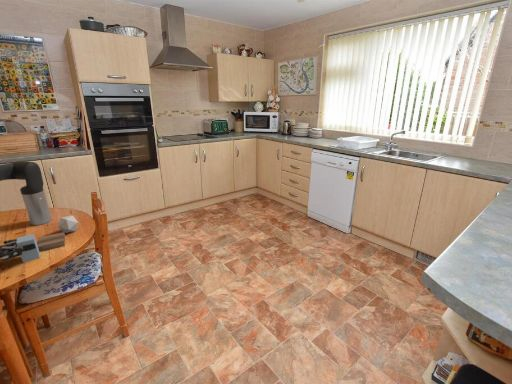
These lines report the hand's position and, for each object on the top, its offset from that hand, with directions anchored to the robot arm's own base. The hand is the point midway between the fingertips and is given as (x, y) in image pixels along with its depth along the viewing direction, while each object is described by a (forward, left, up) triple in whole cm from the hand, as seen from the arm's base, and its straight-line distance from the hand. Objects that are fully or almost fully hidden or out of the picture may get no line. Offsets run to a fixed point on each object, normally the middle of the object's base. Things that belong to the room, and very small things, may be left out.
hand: (35, 242), depth 115 cm
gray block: (0, -2, -6) cm, 7 cm away
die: (-20, +10, -6) cm, 23 cm away
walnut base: (-9, +4, -7) cm, 11 cm away
